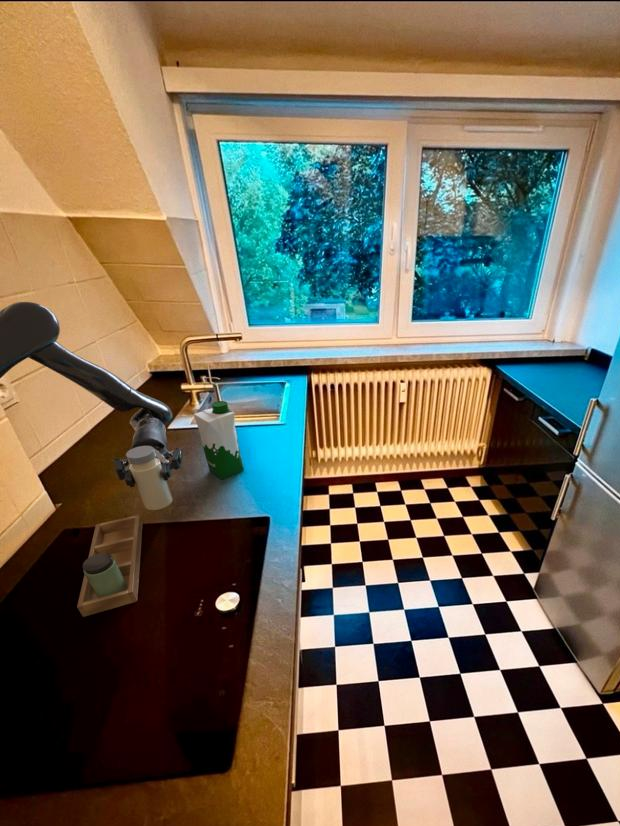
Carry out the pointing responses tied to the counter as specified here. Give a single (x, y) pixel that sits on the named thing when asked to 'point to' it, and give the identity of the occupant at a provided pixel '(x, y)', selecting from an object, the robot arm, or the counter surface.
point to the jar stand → (125, 549)
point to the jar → (149, 477)
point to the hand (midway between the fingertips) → (148, 480)
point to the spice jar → (104, 575)
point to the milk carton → (220, 440)
